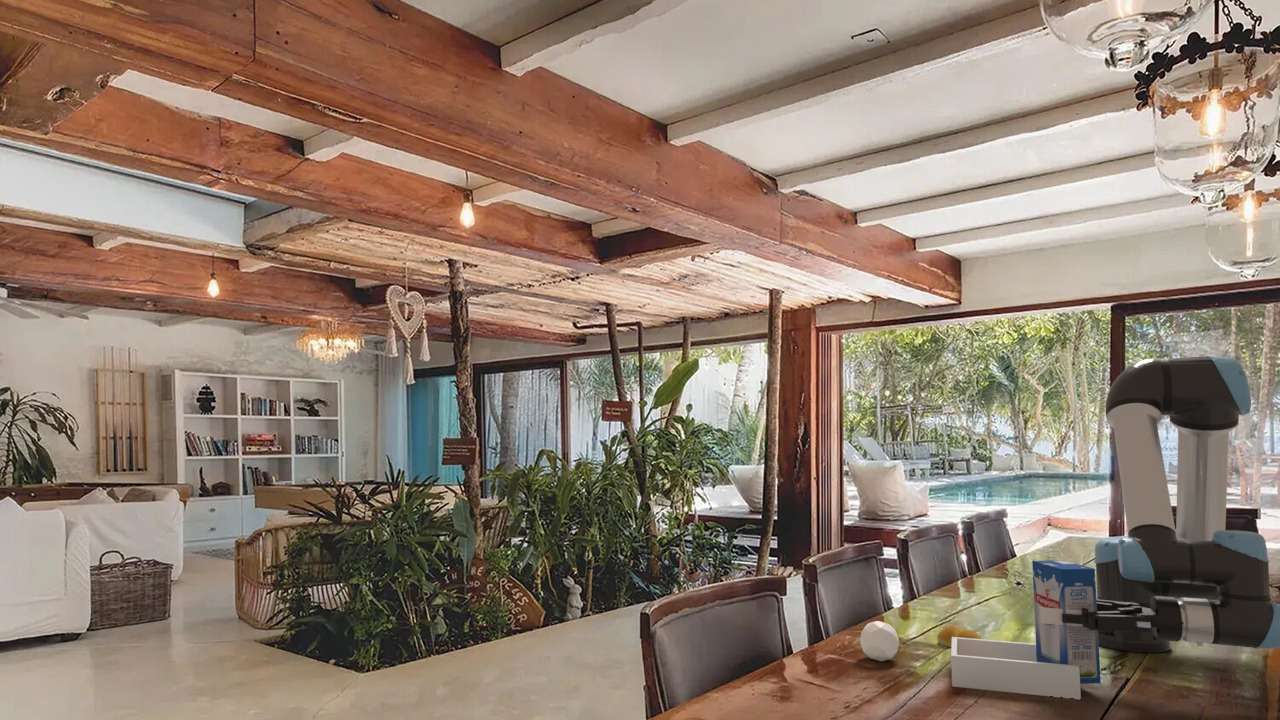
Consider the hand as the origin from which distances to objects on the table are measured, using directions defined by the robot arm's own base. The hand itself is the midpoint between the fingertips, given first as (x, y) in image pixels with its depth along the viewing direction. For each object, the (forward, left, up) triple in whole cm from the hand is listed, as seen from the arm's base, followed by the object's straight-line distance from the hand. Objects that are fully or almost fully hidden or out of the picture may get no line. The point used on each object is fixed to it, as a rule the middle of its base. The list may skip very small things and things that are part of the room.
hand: (1038, 609), depth 153 cm
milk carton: (-4, 0, -12) cm, 12 cm away
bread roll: (+14, -25, -14) cm, 32 cm away
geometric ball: (+30, -7, -14) cm, 33 cm away
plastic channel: (+5, 0, -13) cm, 14 cm away
